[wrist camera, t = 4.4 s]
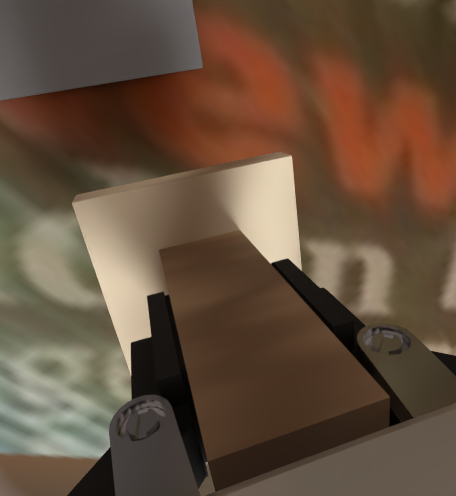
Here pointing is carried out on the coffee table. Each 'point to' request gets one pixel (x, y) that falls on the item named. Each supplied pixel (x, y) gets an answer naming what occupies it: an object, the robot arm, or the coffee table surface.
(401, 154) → the coffee table surface
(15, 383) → the coffee table surface
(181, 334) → the square post stand
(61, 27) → the mat
